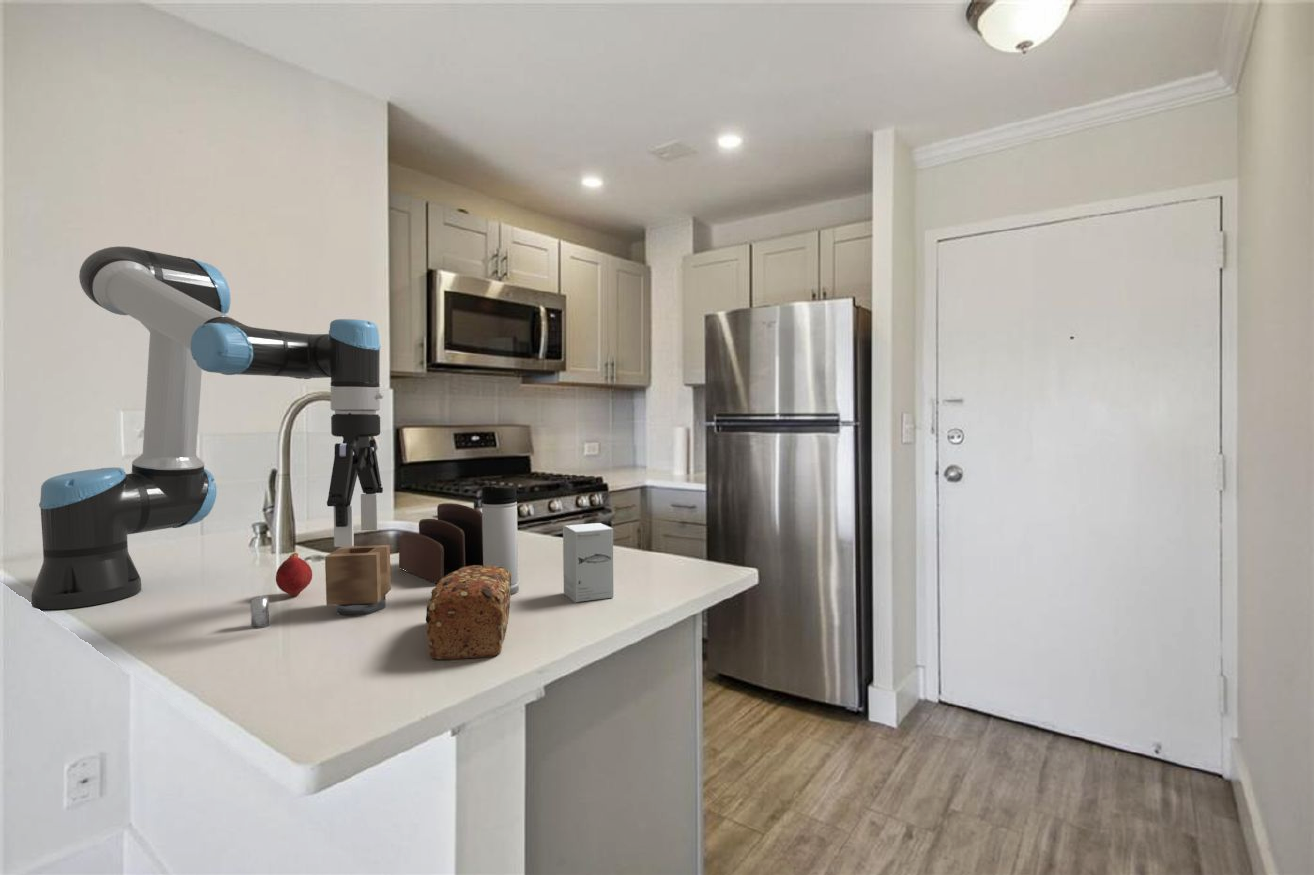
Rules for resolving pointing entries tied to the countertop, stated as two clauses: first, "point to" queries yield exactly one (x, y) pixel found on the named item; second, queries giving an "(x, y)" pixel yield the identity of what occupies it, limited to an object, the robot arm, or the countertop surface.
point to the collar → (357, 574)
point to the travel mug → (500, 530)
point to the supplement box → (588, 561)
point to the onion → (293, 575)
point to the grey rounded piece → (259, 612)
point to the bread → (469, 613)
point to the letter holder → (443, 543)
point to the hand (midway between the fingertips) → (357, 537)
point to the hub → (361, 608)
